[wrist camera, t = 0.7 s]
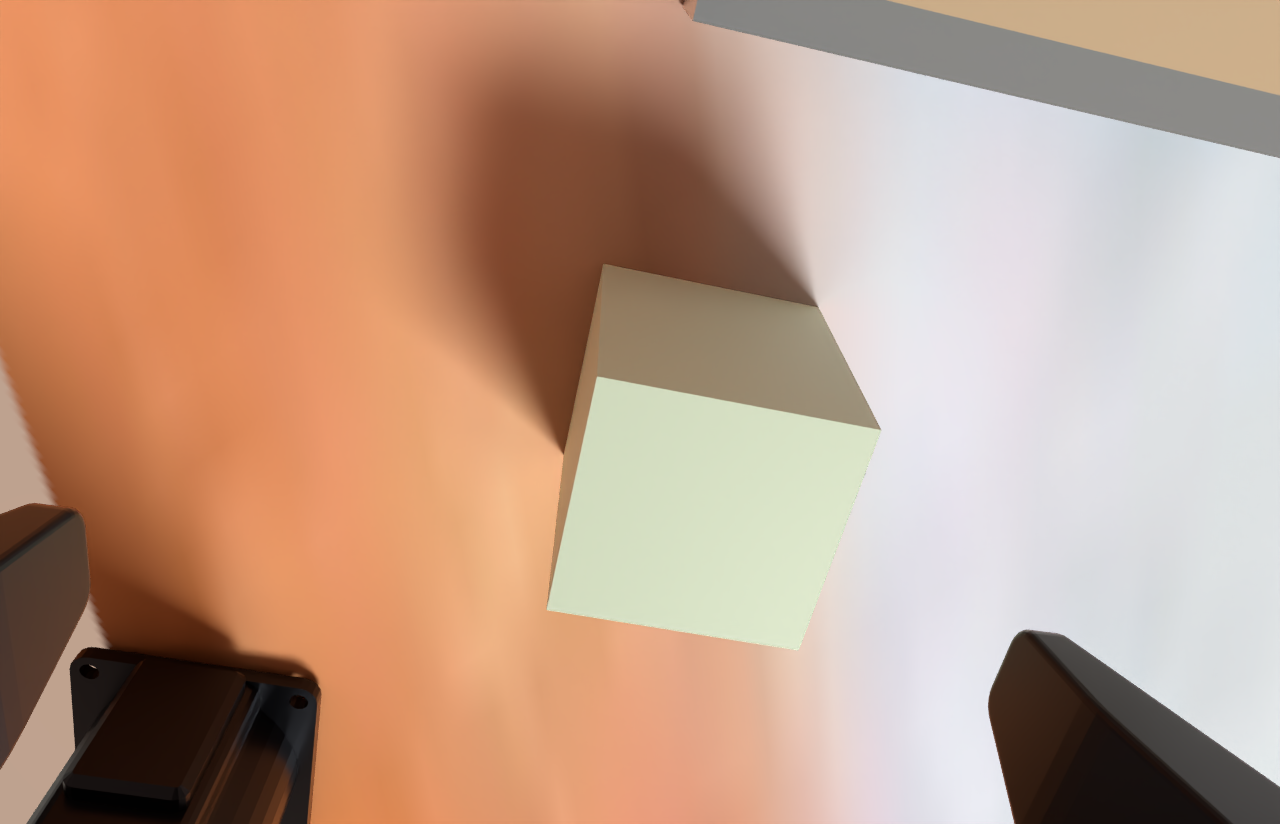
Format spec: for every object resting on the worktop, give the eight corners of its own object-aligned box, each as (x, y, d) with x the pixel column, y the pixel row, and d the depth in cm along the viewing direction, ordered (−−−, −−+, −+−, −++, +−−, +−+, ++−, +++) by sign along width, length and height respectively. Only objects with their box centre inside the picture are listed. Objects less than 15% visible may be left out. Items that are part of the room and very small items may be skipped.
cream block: (759, 488, 24) (798, 650, 19) (563, 454, 23) (546, 609, 18) (817, 306, 22) (881, 430, 16) (603, 263, 21) (596, 376, 16)
